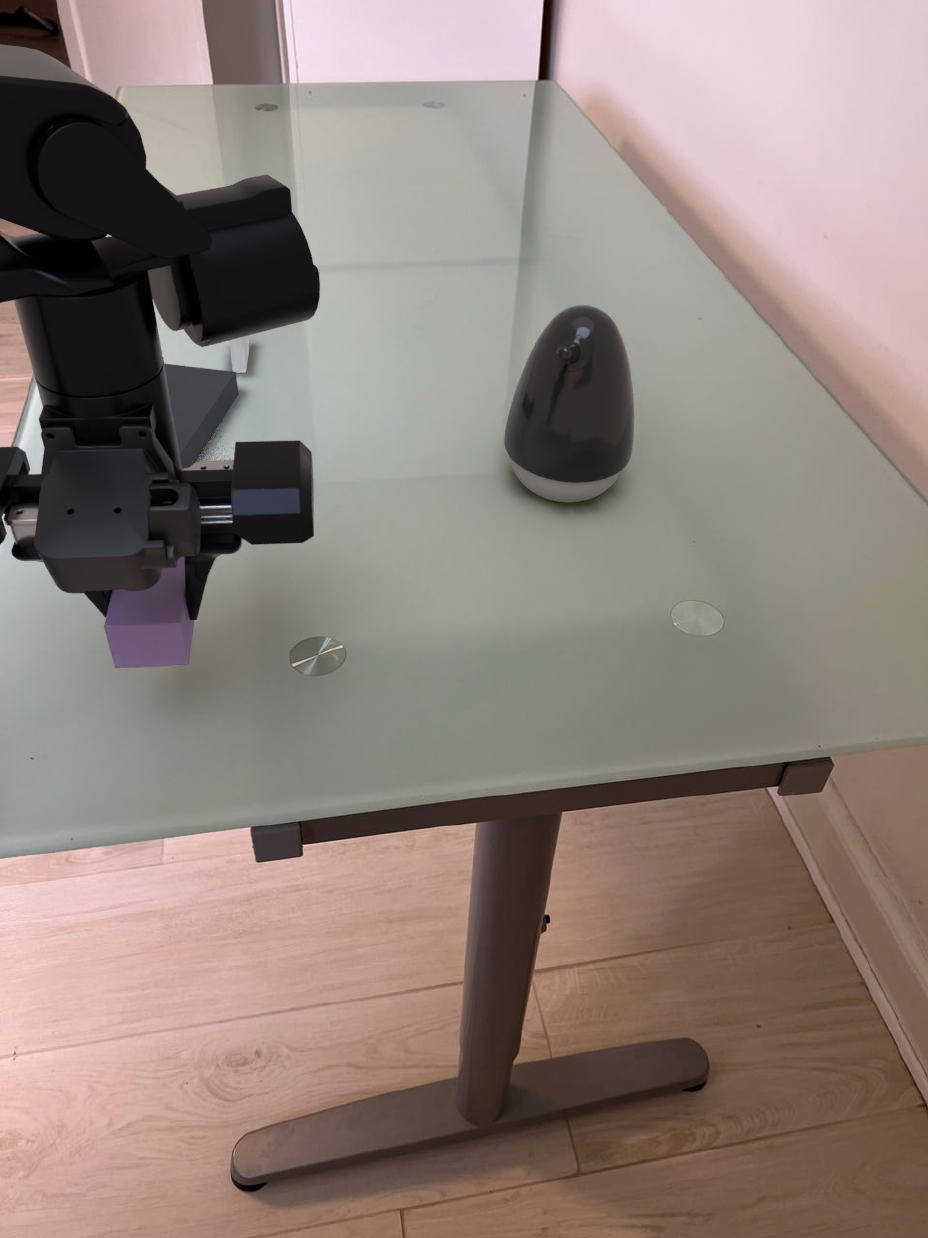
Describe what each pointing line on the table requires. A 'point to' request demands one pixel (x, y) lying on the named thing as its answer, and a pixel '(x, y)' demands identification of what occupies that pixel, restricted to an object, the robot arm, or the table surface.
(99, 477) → the robot arm
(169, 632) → the soap bar
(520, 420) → the dark grey egg dome
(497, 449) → the table surface
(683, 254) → the table surface
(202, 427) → the button base
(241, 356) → the eraser
